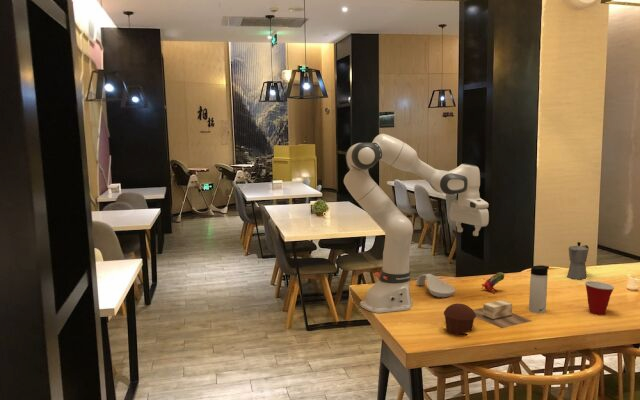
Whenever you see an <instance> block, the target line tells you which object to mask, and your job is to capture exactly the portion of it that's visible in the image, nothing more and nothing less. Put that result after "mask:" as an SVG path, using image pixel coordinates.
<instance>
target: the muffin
mask: <svg viewBox="0 0 640 400" xmlns="http://www.w3.org/2000/svg"><path fill="white" fill-rule="evenodd" d="M473 310H474V309H472V308H471V307H469V306H468V304H465V303H464V304H463V303H452V304H450V305H448V306H447V307H446V308H445V309H444V311H443V315H444V318H445V326H446V332H447V333H449V334H450V335H455V336H458V337H459V336H460V337H461V336H462V337H463V336H465V337H466V336H469V334H467V333H468V332H470V331H472V330H473V327H474V326H473V324H474V320H475V319H476V314H475V312H474V311H473Z"/></svg>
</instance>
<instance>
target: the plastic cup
mask: <svg viewBox="0 0 640 400" xmlns="http://www.w3.org/2000/svg"><path fill="white" fill-rule="evenodd" d="M584 284H585V289H586V290H585V291H586V296H587V304H588V311H589V313H590V314H593V315H596V314H597V315H598V316H603V315H605V314H606V313H607V309H608V306H609V303H610V299H611V296H612V292H613V290H614V289H616V288H615V286H614V285H612V284H609V283H606V282H601V281H594V280H586V281H584Z"/></svg>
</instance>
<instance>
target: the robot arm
mask: <svg viewBox="0 0 640 400" xmlns="http://www.w3.org/2000/svg"><path fill="white" fill-rule="evenodd" d="M344 158H345V162H346V163H345V164H346V167H347V171H348V172H347V173H346V174H345V175H344V178H343V184H344V186H345V188H346V190H347V191H348V193H349V194H350V195H351V196H352V198H353V199H354V200H355V202H356V203H358V205H359V206H360V207H361V208H362V209H363V211H365V213H367V215H368V217H370V218H371V219H372V220H373V222H375V223H376V225H378V226H379V227H380V229H381V230H382V231H383V232H384V234H385V236H384V237H385V238H384V246H383V250H382V251H383V252H382V270H381V272H377V271H376V272H374V277H377V278H378V280H377V281H376V282H375V283H374V284H373V285H372V286H371V287H370V288H369V289H367V291H366V293H365V299H364V300H362V301H360V302H359V306H360V307H361V308H363V309H365V310H366V311H369V312H372V313H376V314H380V313H382V314H383V313H389V312H391V313H392V312H400V311H408V310H411V307H412V306H413V301H412V296H411V289H410V281H411V271H410V253H411V252H410V251H411V246H412V239H413V233H414V226H413V222H412V221H411V220H410V219H409V218H408V217H407V216H406V215H404V213H403V212H402V211H401V210H400V209H399V207H397V205H396V204H395V203H394V202H393V201H392V199H391V198H390V197H389V196H388V195H387V194H386V192H385V191H384V190H383V189H382V188H381V187H380V185H378V183H377V182H375V180H374V179H373V178H372V176H371V175H370V173H369V169H372V168H373V167H374V166H375V165H376V164H377V163H378V162H379V161H382V162H384V163H385V164H387V165H389V166H391V167H393V168H394V169H398V170H399V171H403V172H409V173H412V174H415V175H416V176H418V177H420V178H421V179H423V180H425V181H426V182H428V184H429V186H431V188H432V189H433V191H435V192H437V193H440V194H441V193H442V194H444V195H447V196H453V195H457V199H453V200H452V201H451V203H450V209H449V216H448V217H449V220H450V221H452V222H455V226H456V228H457V230H456V231H457V232H458V233H462V232H463V231H464V228H463V227H462V225H461V224H462V223H463V224H467V225H471V226H474V228H475V229H474V230H473V231H472V236H474V237H478V236H479V232H480V231H481V228H483V227H487V226H488V225H489V221H490V215H489V214H490V213H489V210H488V208H489V205H490V204H489V203H488V202H487V201H485V200H484V199H482V198H481V196H480V195H481V194H480V191H479V190H480V186H481V175H480V174H481V172H480V168H479V166H477V165H474V164H469V163H461V164H460V165H459V166H457V167H456V168H453V169H451V170H446V169H442V168H441V169H438V168H434V167H433V166H431V165H429V164H428V163H426V162H424V161H422V160H421V159H420V158H419V157H418V153H417V150H415V149H414V148H413V147H411V146H410V145H409V144H408V143H406V142H404V141H402V140H401V139H398V138H396V137H394V136H392V135H389V134H387V133H380V134H378V135H376V136H375V137H374V138H373V140H372V142H358V143H355V144H353V145H351V146H350V147H349V148H348V149H347V150H346V153H345V157H344Z"/></svg>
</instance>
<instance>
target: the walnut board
mask: <svg viewBox="0 0 640 400" xmlns="http://www.w3.org/2000/svg"><path fill="white" fill-rule="evenodd" d="M472 310H473V311H474V312H475V314H476V318H477V319H479V320H480V321H484V322H485V323H488V324H491V325H493V326H495V327H497V328H500V329H505V328H509V327H513V326H518V325H521V324H526V323H530V322H533V320H531V319H529V318H526V317H523V316H521V315H519V314H517V313H513V312H512V316H510V317H505V318H501V319H497V320H491V319H488V318H486V317H483V307H480V308H475V309H472ZM476 318H475V319H476Z"/></svg>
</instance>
